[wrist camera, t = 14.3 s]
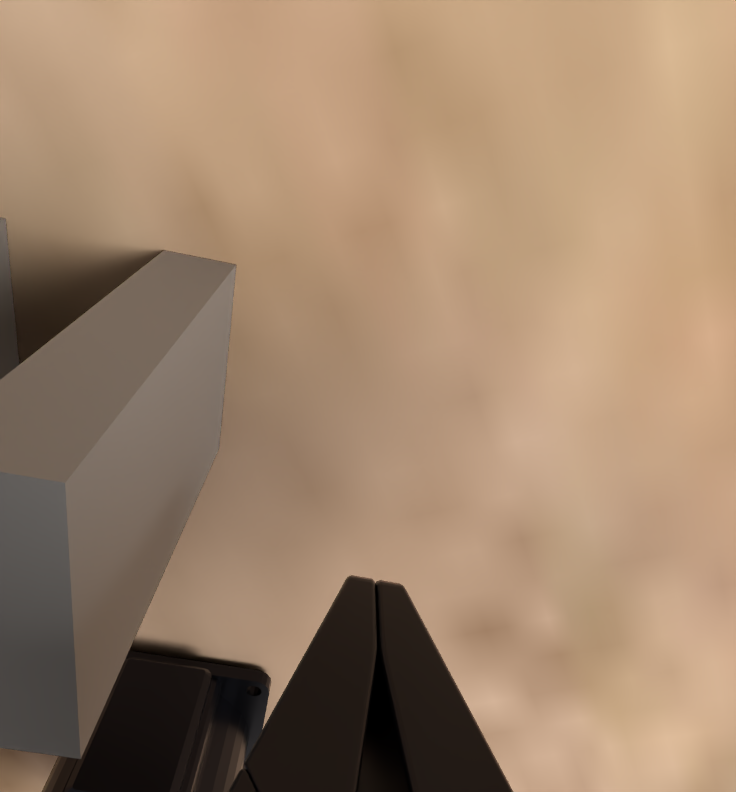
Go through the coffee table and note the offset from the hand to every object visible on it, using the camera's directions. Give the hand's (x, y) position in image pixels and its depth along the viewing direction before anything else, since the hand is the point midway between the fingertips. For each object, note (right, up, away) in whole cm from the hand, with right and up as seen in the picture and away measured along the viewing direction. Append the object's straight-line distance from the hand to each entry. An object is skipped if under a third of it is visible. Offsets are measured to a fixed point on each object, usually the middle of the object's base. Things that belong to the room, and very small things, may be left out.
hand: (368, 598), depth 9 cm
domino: (-4, +4, +5) cm, 8 cm away
